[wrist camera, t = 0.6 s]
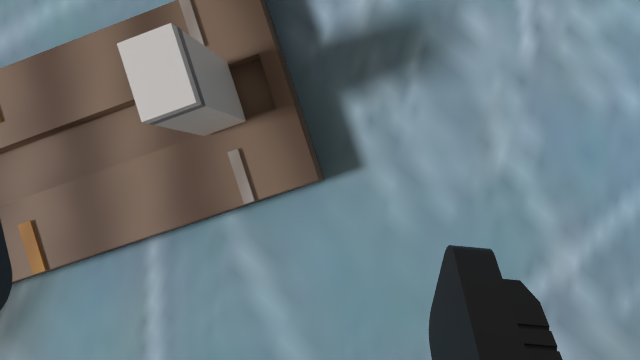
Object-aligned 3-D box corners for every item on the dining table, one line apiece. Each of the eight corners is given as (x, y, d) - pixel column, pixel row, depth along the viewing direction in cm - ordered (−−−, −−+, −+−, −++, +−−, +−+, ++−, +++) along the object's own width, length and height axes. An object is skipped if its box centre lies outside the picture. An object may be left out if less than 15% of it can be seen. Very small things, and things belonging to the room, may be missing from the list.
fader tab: (232, 64, 34) (171, 22, 25) (252, 123, 34) (196, 102, 25) (191, 79, 35) (116, 43, 25) (210, 137, 34) (141, 122, 25)
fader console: (260, -16, 35) (249, -30, 33) (323, 179, 35) (318, 179, 32) (-104, 123, 39) (-138, 120, 36) (-51, 304, 38) (-81, 312, 36)
